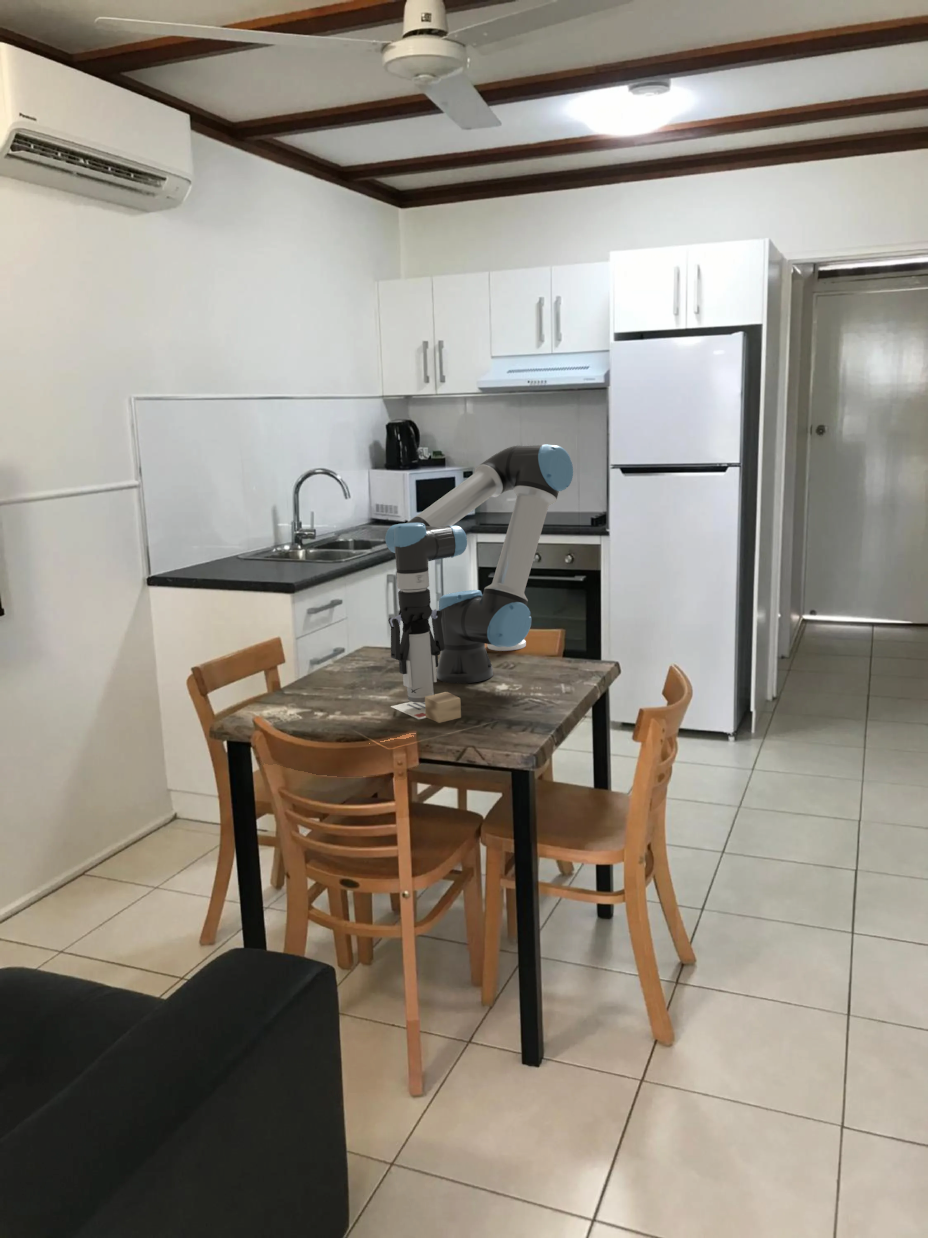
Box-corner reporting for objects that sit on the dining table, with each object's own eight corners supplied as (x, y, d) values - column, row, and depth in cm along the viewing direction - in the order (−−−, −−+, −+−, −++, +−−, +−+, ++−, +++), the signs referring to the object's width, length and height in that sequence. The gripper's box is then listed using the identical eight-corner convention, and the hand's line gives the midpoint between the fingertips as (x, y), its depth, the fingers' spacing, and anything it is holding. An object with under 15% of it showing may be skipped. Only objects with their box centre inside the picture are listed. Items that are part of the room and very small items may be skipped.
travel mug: (415, 704, 237) (409, 622, 233) (403, 698, 242) (398, 617, 238) (438, 699, 239) (433, 618, 235) (427, 693, 245) (421, 614, 241)
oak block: (425, 716, 235) (424, 696, 233) (447, 711, 238) (446, 691, 236) (439, 724, 230) (438, 703, 228) (461, 718, 233) (460, 698, 231)
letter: (390, 707, 245) (390, 706, 245) (425, 699, 250) (425, 698, 250) (419, 720, 233) (419, 719, 233) (455, 711, 238) (455, 710, 238)
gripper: (385, 597, 227) (392, 694, 232) (456, 585, 237) (462, 679, 242) (370, 593, 233) (377, 688, 238) (440, 581, 244) (445, 673, 248)
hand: (420, 683), depth 240 cm, fingers closed on travel mug, 6 cm apart
